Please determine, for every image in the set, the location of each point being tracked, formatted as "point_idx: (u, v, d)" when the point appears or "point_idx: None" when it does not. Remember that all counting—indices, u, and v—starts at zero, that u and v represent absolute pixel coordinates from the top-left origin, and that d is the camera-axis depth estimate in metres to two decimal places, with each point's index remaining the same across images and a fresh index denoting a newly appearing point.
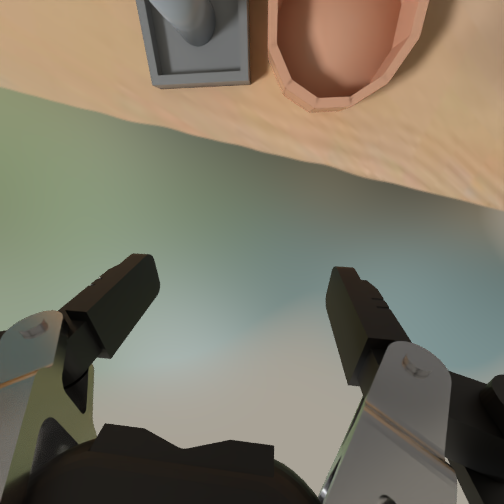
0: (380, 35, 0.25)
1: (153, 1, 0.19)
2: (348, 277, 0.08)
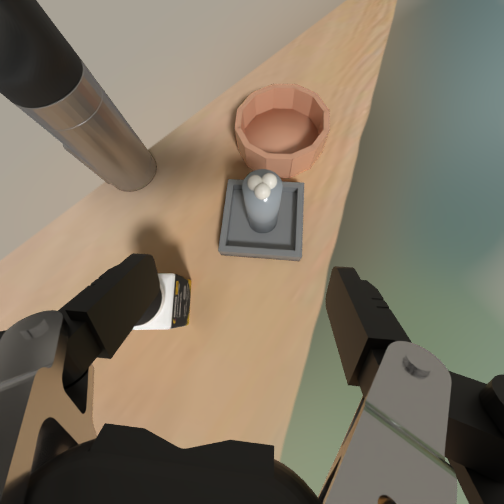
0: (285, 115, 0.41)
1: (280, 194, 0.26)
2: (348, 277, 0.08)
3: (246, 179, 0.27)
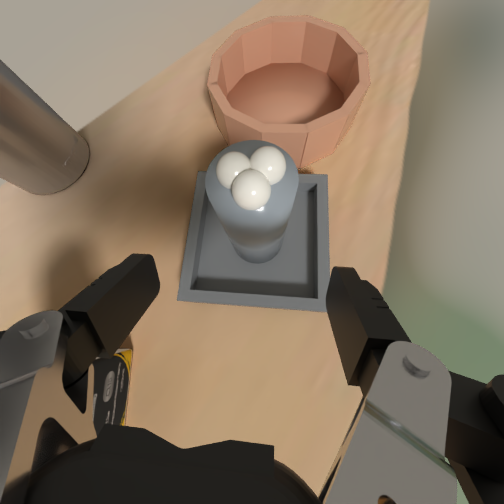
0: (290, 72, 0.27)
1: (293, 197, 0.11)
2: (348, 277, 0.08)
3: (215, 163, 0.12)
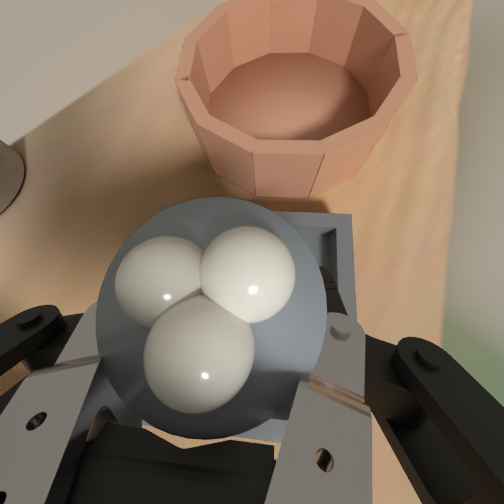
0: (294, 64, 0.20)
1: (315, 357, 0.04)
2: None
3: (127, 254, 0.05)
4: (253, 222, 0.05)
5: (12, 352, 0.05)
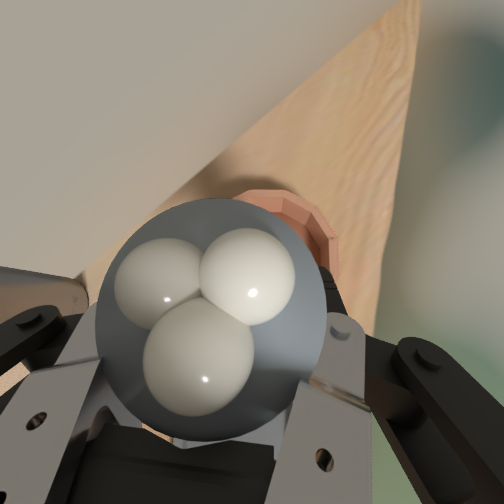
0: None
1: (314, 359, 0.04)
2: None
3: (127, 255, 0.05)
4: (253, 224, 0.05)
5: (12, 352, 0.05)
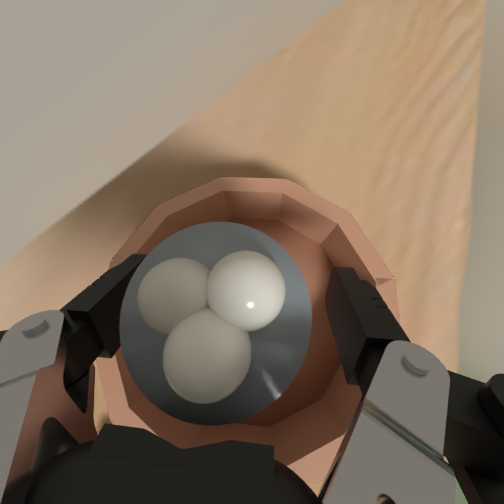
0: None
1: (301, 359, 0.05)
2: (347, 277, 0.08)
3: (145, 271, 0.06)
4: (251, 244, 0.06)
5: None
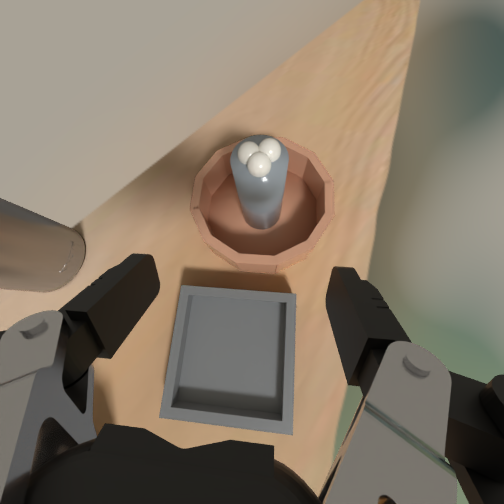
0: None
1: (285, 169, 0.18)
2: (348, 277, 0.08)
3: (236, 149, 0.18)
4: None
5: None
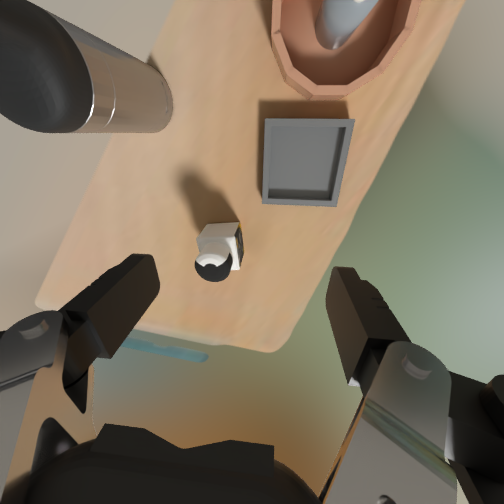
0: None
1: None
2: (348, 277, 0.08)
3: None
4: None
5: None
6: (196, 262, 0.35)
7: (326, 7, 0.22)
